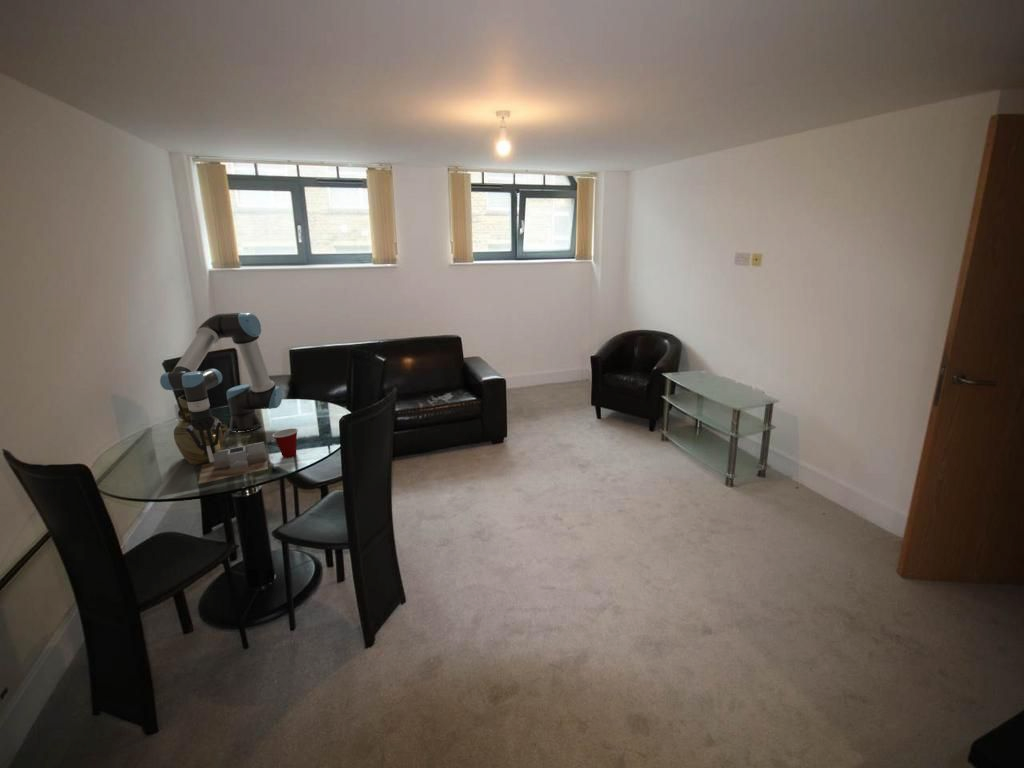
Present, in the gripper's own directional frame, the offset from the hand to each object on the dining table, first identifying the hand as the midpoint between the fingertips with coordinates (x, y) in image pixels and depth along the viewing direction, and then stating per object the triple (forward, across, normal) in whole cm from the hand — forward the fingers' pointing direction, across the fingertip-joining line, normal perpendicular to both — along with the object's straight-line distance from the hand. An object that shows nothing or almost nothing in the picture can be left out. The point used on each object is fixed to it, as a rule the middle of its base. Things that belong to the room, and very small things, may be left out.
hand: (212, 460), depth 208 cm
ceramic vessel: (+7, -5, +23) cm, 25 cm away
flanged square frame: (+5, +7, 0) cm, 8 cm away
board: (+7, +8, +1) cm, 10 cm away
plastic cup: (+7, +30, +4) cm, 31 cm away
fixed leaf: (+5, +13, 0) cm, 15 cm away
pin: (+5, +2, +7) cm, 9 cm away
